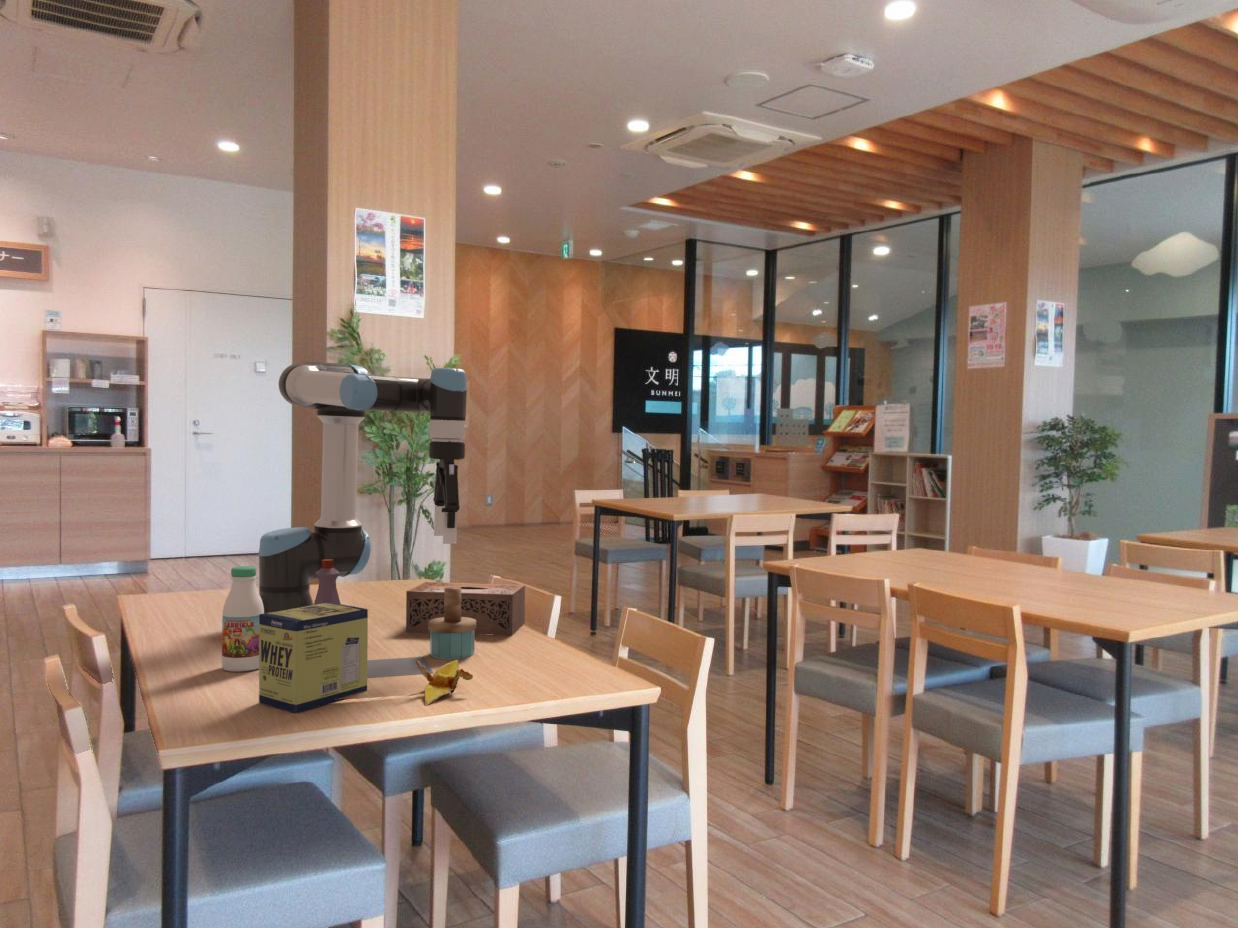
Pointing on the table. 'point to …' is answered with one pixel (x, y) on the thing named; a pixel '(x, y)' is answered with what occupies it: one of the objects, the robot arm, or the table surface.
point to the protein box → (312, 655)
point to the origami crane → (442, 680)
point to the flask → (327, 583)
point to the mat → (395, 667)
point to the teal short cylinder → (452, 645)
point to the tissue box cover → (469, 606)
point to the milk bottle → (241, 622)
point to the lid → (452, 615)
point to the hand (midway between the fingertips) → (444, 539)
